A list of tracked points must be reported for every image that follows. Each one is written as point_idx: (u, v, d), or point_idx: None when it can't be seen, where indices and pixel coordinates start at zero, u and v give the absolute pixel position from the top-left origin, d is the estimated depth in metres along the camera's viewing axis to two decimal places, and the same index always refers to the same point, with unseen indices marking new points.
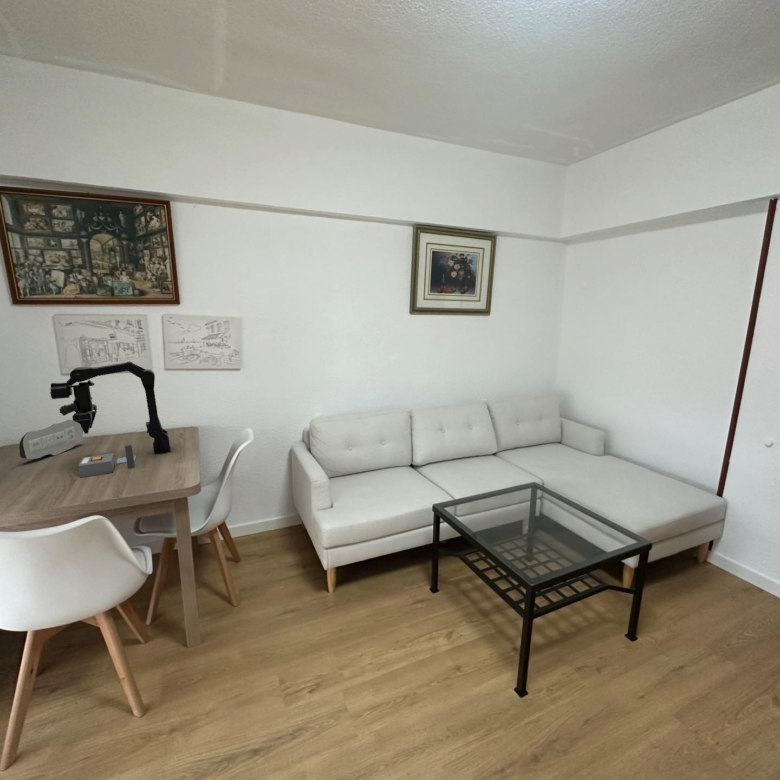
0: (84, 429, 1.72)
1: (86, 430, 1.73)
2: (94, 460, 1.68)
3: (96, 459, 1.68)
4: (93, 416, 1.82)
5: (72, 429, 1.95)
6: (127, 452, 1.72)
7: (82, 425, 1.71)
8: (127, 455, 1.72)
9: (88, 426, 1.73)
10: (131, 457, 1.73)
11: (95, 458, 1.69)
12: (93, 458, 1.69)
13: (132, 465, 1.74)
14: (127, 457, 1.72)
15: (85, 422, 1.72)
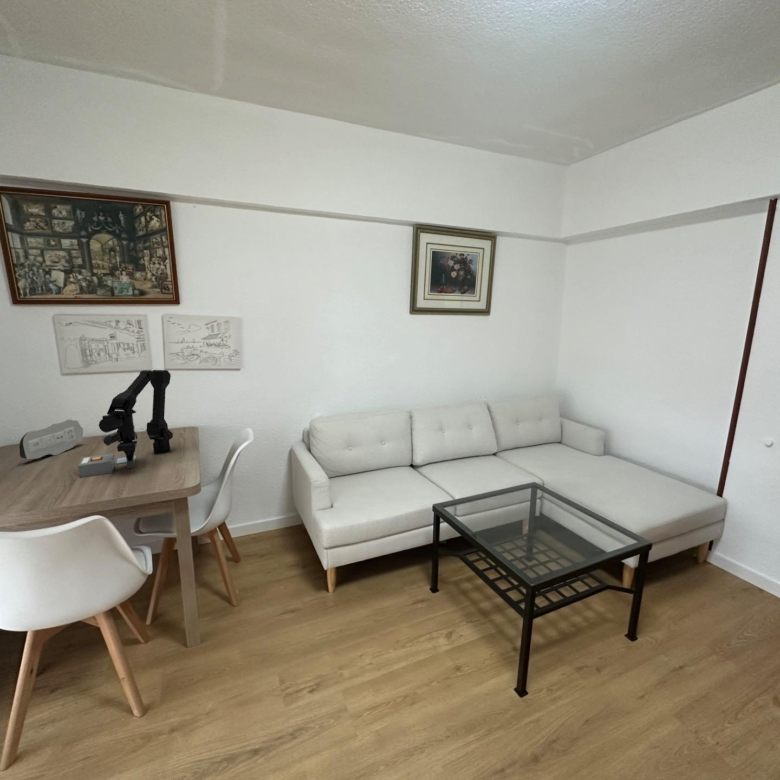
0: (128, 457, 1.72)
1: (130, 458, 1.72)
2: (94, 460, 1.68)
3: (96, 459, 1.68)
4: None
5: (72, 429, 1.95)
6: None
7: (126, 453, 1.71)
8: None
9: (132, 454, 1.72)
10: None
11: (95, 458, 1.69)
12: (93, 458, 1.69)
13: (132, 465, 1.74)
14: None
15: (129, 450, 1.71)
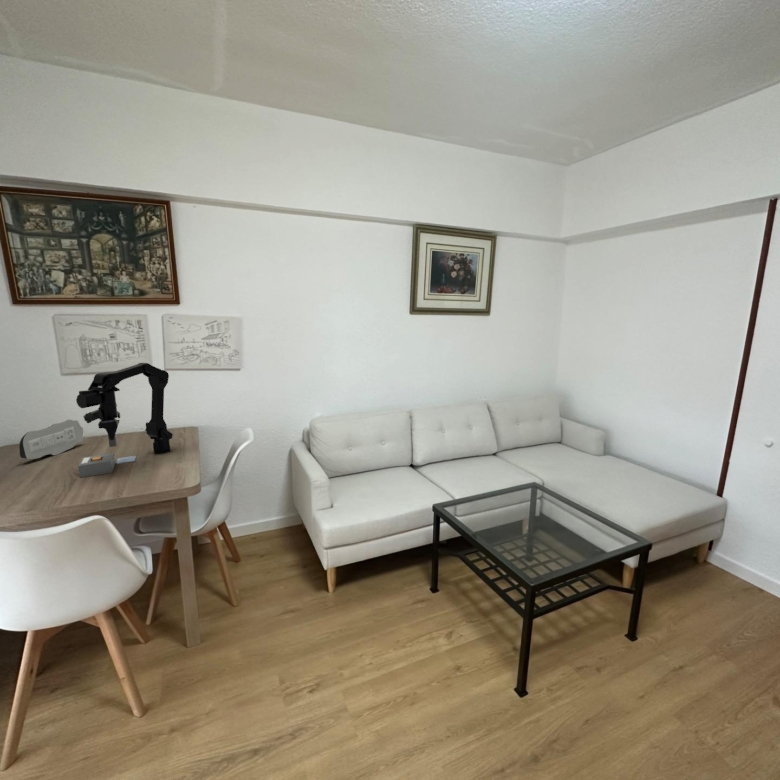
0: (110, 435, 1.67)
1: (112, 436, 1.68)
2: (94, 460, 1.68)
3: (96, 459, 1.68)
4: None
5: (72, 429, 1.95)
6: None
7: (108, 431, 1.66)
8: None
9: (114, 432, 1.68)
10: None
11: (95, 458, 1.69)
12: (93, 458, 1.69)
13: (114, 444, 1.70)
14: None
15: (111, 428, 1.67)
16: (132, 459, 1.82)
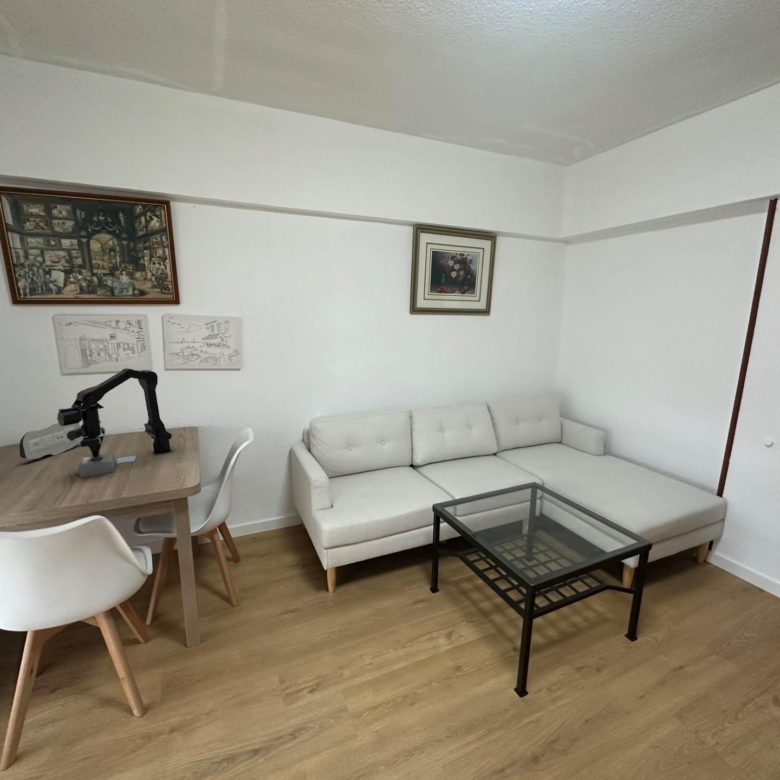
0: (93, 452, 1.67)
1: (95, 453, 1.67)
2: None
3: None
4: (100, 442, 1.71)
5: (72, 429, 1.95)
6: None
7: (91, 448, 1.66)
8: None
9: (98, 449, 1.67)
10: None
11: None
12: None
13: None
14: None
15: (95, 445, 1.66)
16: (132, 459, 1.82)
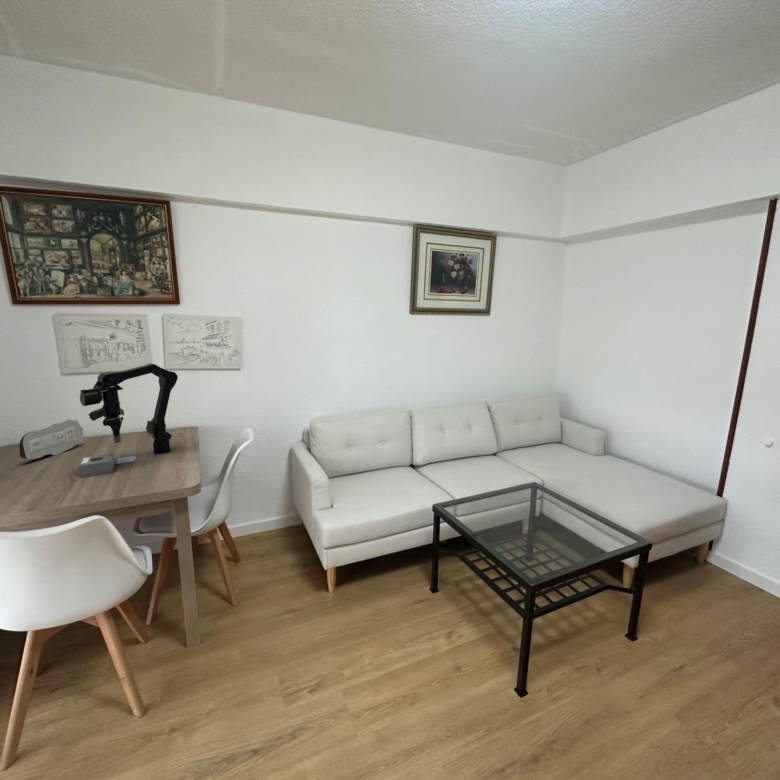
0: (114, 432, 1.74)
1: (116, 433, 1.75)
2: None
3: None
4: None
5: (72, 429, 1.95)
6: None
7: (113, 428, 1.73)
8: None
9: (118, 429, 1.75)
10: None
11: None
12: None
13: (119, 440, 1.77)
14: None
15: (115, 425, 1.74)
16: (132, 459, 1.82)
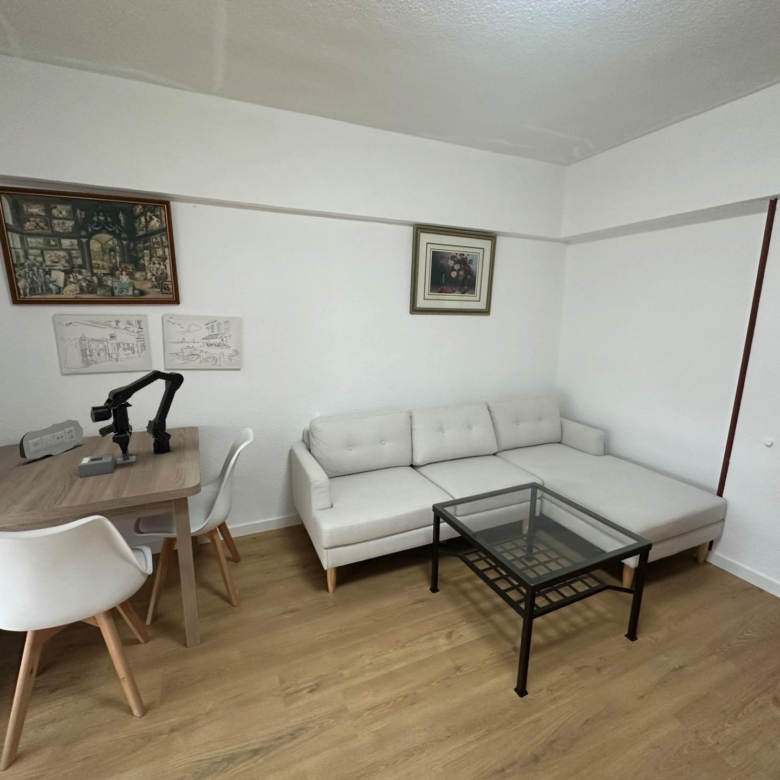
0: (122, 449, 1.76)
1: (124, 450, 1.77)
2: None
3: None
4: None
5: (72, 429, 1.95)
6: None
7: (121, 446, 1.75)
8: None
9: (126, 446, 1.77)
10: None
11: None
12: None
13: (127, 458, 1.81)
14: None
15: (123, 443, 1.76)
16: (132, 459, 1.82)
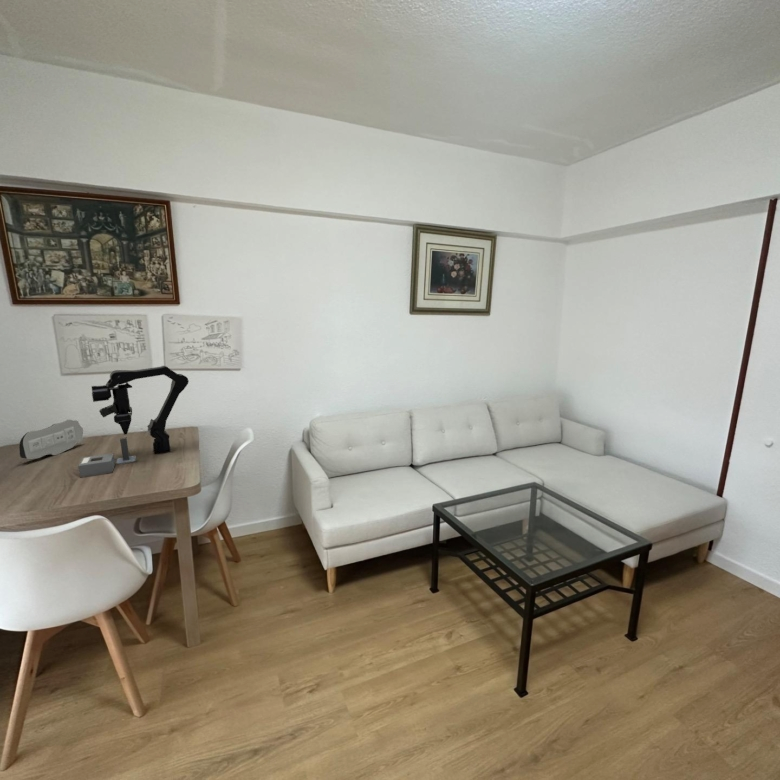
0: (124, 430, 1.78)
1: (125, 431, 1.78)
2: None
3: None
4: None
5: (72, 429, 1.95)
6: (122, 445, 1.79)
7: (122, 426, 1.77)
8: (122, 448, 1.79)
9: (127, 427, 1.78)
10: (126, 450, 1.80)
11: None
12: None
13: (127, 458, 1.81)
14: (122, 450, 1.80)
15: (125, 423, 1.77)
16: (132, 459, 1.82)
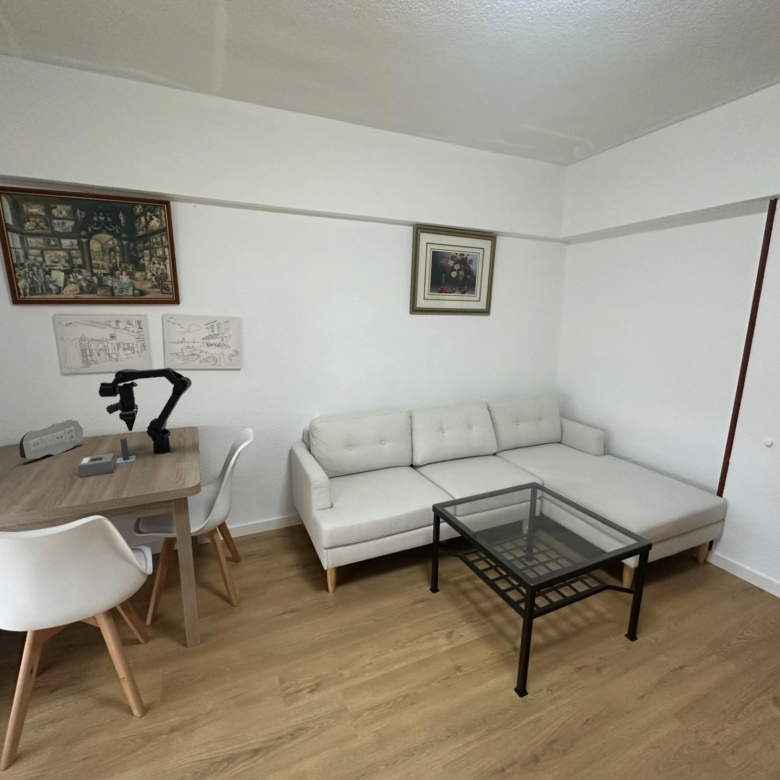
0: (128, 427, 1.84)
1: (130, 428, 1.85)
2: None
3: None
4: None
5: (72, 429, 1.95)
6: (122, 445, 1.79)
7: (127, 423, 1.83)
8: (122, 448, 1.79)
9: (132, 424, 1.84)
10: (126, 450, 1.80)
11: None
12: None
13: (127, 458, 1.81)
14: (122, 450, 1.80)
15: (130, 420, 1.84)
16: (132, 459, 1.82)
